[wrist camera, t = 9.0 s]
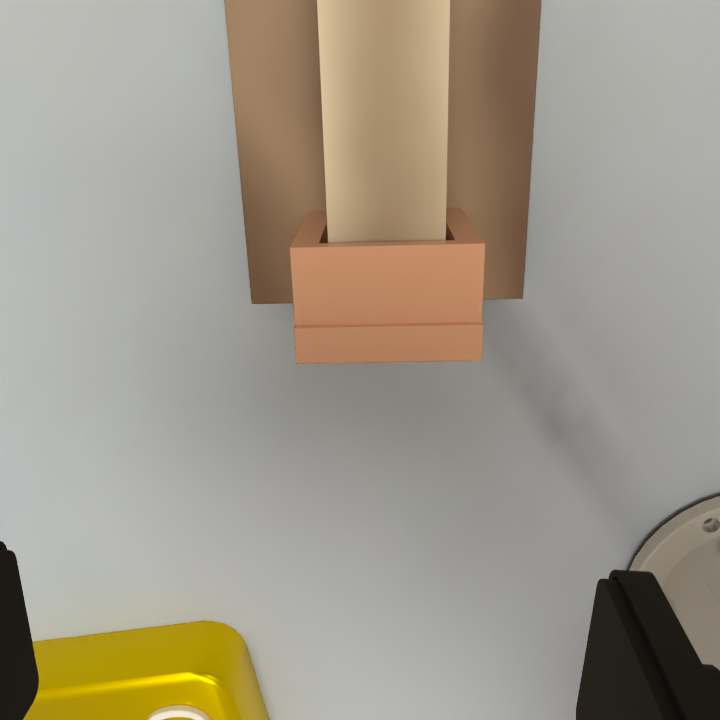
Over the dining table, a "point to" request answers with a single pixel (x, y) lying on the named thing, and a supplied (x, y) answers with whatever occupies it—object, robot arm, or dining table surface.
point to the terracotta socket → (388, 296)
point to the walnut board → (305, 131)
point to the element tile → (148, 676)
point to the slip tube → (385, 118)
